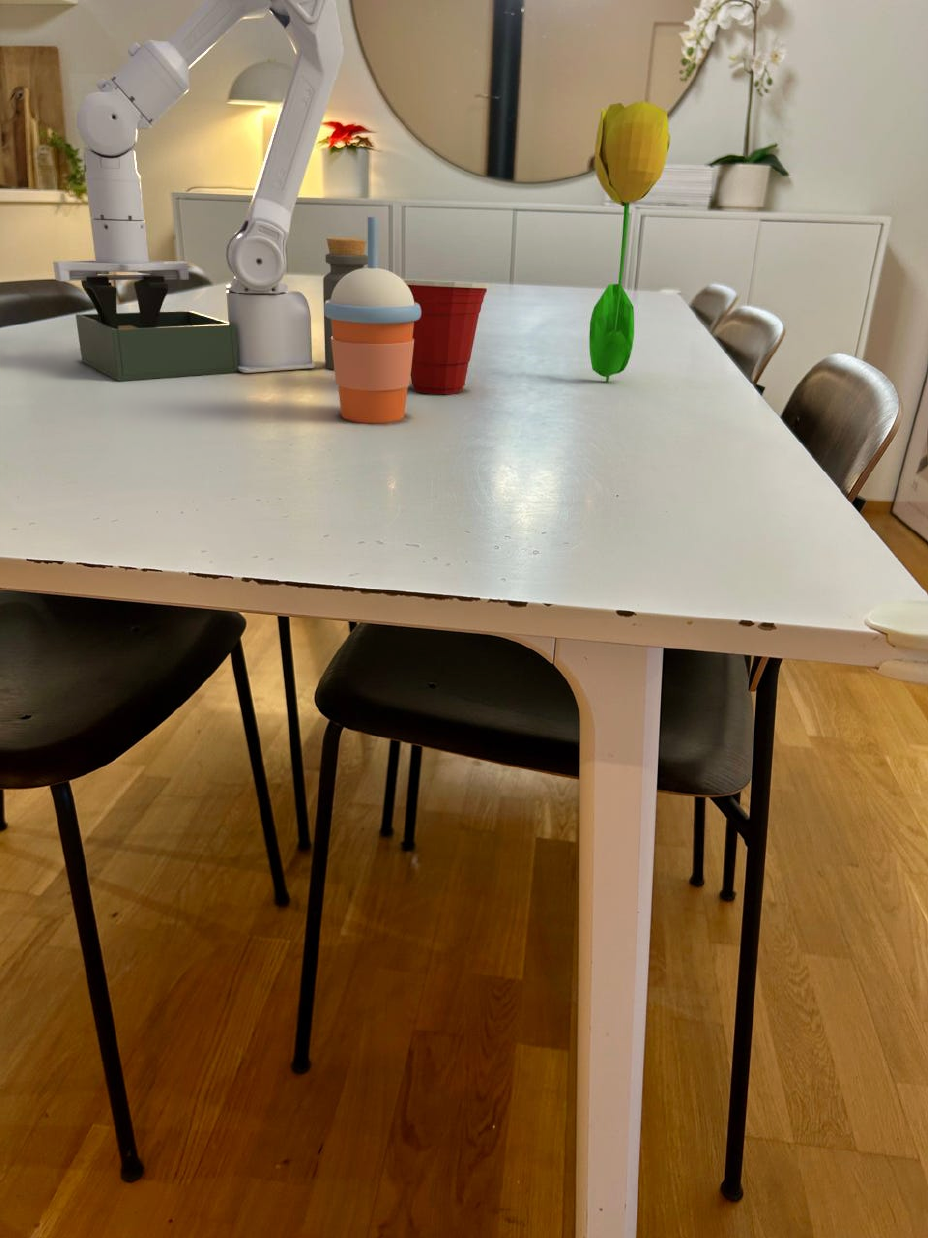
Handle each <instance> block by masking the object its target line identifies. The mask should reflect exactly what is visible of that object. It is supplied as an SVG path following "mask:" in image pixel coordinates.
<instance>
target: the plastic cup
mask: <svg viewBox="0 0 928 1238" xmlns="http://www.w3.org/2000/svg"><path fill="white" fill-rule="evenodd" d="M402 280H403V281H404V282H405V283H406V285H407V286H408V287H409V289H410V291H411V293H412V296H413V299H414V302H416V303H418V304H419V305H420V308H421V317H420V319H419V320H417V321H414V327H413V337H412V338H413V339H414V347H413V356H412V366H411V376H410V383H411V385H412V389H413V391H414V392H416V393H417V392H418V393H423V394H429V395H430V394H431V395H453V394H459V393H462V392H463V390H464V386H465V383H466V380H467V373H468V368H469V363H470V361H471V357H472V352H473V348H474V347H473V346H474V342H475V337H476V332H477V327H478V321H479V316H480V313H481V310H482V305H483V303H484V300H485V296H486V293H487V291H488V290H487V289H490V287H491V284H490V283H481V282H461V281H445V280H444V281H441V280H440V281H439V280H421V279H420V280H419V279H402Z"/></svg>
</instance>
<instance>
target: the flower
mask: <svg viewBox="0 0 928 1238" xmlns="http://www.w3.org/2000/svg"><path fill="white" fill-rule="evenodd" d="M598 122H599V123H598V127H597V131H596V138H595V146H594V169H595V174H596V178H597V179H598V181H599V184H600V185H601V187H602V189H603V191H604V192H605V193H606V195H607V196H608V197H609V198H610V200H611V201H613V202H614V203H616V204H618V205H620V206H621V207H623V218H622V219H623V221H622V235H621V249H620V251H621V252H620V263H619V273H618V274H619V275H618V283H614V284H613V283H609V284H608V285H607V286H606V288H605V290H604V291H603V293H602V294H601V296H600V297H599V298H598V300H597V302H596V304H595V305H594V307H593V310H592V312H591V317H590V321H589V335H588V337H589V338H588V339H589V341H588V344H589V357H590V363H591V370H592V371H593V372H595V373H596V374H597V375H599V376H600V377H605V383H606V384H607V383H608V384H609V382H610V377H611V376H613V375H617V374H620V373H622V372H623V371H625V369H626V367H627V366H628V363H629V361H630V358H631V355H632V350H633V346H634V339H635V311H634V305H633V304H632V301H631V300H630V298H629V296H628V294H627V292H626V290H625V289H624V288H623V286H622V281H623V273H624V264H625V263H624V262H625V254H626V245H627V237H628V235H627V234H628V225H629V222H628V221H629V214H630V213H629V211H630V203H631V204H632V203H636V202H638V201H640V200H641V199H644V198H645V197H646V196H647V195H648V193H649V192H650V191H651V190H652V188H653V187H654V186H655V185H656V184H657V182H658V181H659V179H660V178H661V177H662V175H663V171H664V169H665V166H666V161H667V157H668V151H669V148H670V143H671V135H670V133H669V118H668V113H667V110H665V109H663V108H662V107H660V106H658V105H656V104H653V103H651V102H647V101H645V100H642V101H641V100H640V101H636V102H633V103H631V104H629V105H627V106H624V105H623V104H622V102H618V103H611V104H609V106H608V108H607V109H605V108H604V107H602V108H601V112H600V116H599V121H598Z"/></svg>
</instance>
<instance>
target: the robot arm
mask: <svg viewBox="0 0 928 1238" xmlns="http://www.w3.org/2000/svg"><path fill="white" fill-rule="evenodd" d="M268 12H270V14H272V16H273V17H274V18H275V19H276V20H277V21H278V22H279V24H280V25H281V26H282V27H283V28H284V29H283V30H284V32H285V34H286V36H287V38H288V41H289V43H290V45H291V47H292V49H293V51H294V53H295V61H294V63H293V68H292V71H291V73H290V76H289V80H288V83H287V86H286V89H285V93H284V96H283V98H282V99H283V100H282V102H281V106H280V109H279V113H278V115H277V118H276V122H275V125H274V127H273V132H272V135H271V137H270V141H269V144H268V147H267V150H266V153H265V157H264V159H263V163H262V167H261V170H260V173H259V177H258V180H257V182H256V185H255V189H254V192H253V196H252V198H251V201H250V203H249V205H248V208H247V211H246V213H245V216H244V219H243V221H242V224H241V226H240V228H239V229H238V230H237V231H236V232H235V233H234V234H233V235H232V236H231V237H230V239H229V240H228V242H227V245H226V249H225V258H226V264H227V265H228V269H230V271H231V272H232V274H233V275H234V277H233V279H232V281H231V282H230V283H228V284H227V285H225V289H226V305H227V319H228V321H227V322H229V323H232V324H235V325H236V340H237V355H238V371H239V372H241V373H243V374H252V373H264V372H267V373H268V372H278V371H279V372H280V371H293V370H305V369H307V370H308V369H315V368H316V364H315V363H313V344H312V343H313V341H312V338H313V337H312V314H311V310H310V305H309V302H308V299H307V297H306V296H305V295H304V294H303V293H302V292H300V291H297V290H289V286H288V285H287V284H285V283H283V282H282V280H283V278H284V277H285V274H286V271H287V267H288V261H287V255H286V254H287V253H286V244H287V240H288V237H289V235H290V229H291V221H292V215H293V212H294V209H295V206H296V203H297V200H298V198H299V197H298V196H299V193H300V190H301V187H302V185H303V181H304V178H305V176H306V172H307V168H308V167H309V163H310V159H311V157H312V153H313V151H314V148H315V144H316V141H317V138H318V134H319V132H320V129H321V126H322V123H323V120H324V117H325V114H326V110H327V108H328V104H329V101H330V98H331V95H332V92H333V89H334V86H335V83H336V80H337V77H338V74H339V72H340V68H341V65H342V62H343V59H344V50H345V49H344V43H343V36H342V31H341V25H340V19H339V14H338V9H337V3H336V0H203V2H202V3H201V4H200V5H198V7H197V8H196V9H195V10H194V11H193V13H192V14H191V15H190V16H189V17H188V18H187V19H186V20H185V21H184V22H183V23H182V25H181V26H180V27H178V29H177V30H176V31H175V33H173V35H171V37H170V38H169V39H168V40H167V41H161V40H155V39H147V40H146V41H144V43H143V44H142V45H141V46H140V44H138V43H139V42H134V43H132V45H131V46H129V48H128V49H127V52H128V54H129V56H130V57H129V58H128V59H127V60H126V61H125V62H124V63H123V64H122V65H121V66H120V68H118V70H116V71H115V72H114V74H112V75H111V76H110V78H108V80H107V81H106V80H105V79H104V78H101V79H100V80H99V81H98V82H97V83H96V87H97V88H98V89H99V90H100V91H95V92H91V93H89V94H87V95H85V97H84V98H83V102H82V103H81V104H80V105H79V108H78V111H77V114H76V128H77V131H78V133H79V135H80V138H81V139H82V142H84V144H85V145H86V146H87V147H85V146H84V147H83V163H84V165H85V173H84V179H85V188H86V195H87V203H88V211H89V212H88V214H89V218H90V219H89V220H90V228H91V235H92V245H93V251H94V259H95V260H69V261H68V260H66V261H52V265H53V271H54V272H53V273H54V278H55V280H56V281H58V282H70V281H73V282H74V281H81V287H82V288H83V291H84V292H85V294H86V295H87V297H88V298H89V300H90V302H91V303H92V305H93V307H94V309H95V311H96V314H98V315H99V317H100V319H101V321H102V324H105V325H107V326H110V327H112V328H114V329H119V328H118V322H117V313H118V310H117V309H118V308H117V291H118V290H117V288H116V287H115V286H114V285H113V284H112V282H110V281H134V283H133V286H134V290H135V294H136V299H137V304H138V309H139V311H138V312H140V320H141V328H149V327H156V326H157V321H158V317H159V313H160V312H161V310H162V306H163V303H164V302H165V299H166V297H167V294H168V292H169V283H168V282H167V281H165V280H180V281H188V280H190V274H189V264H188V262H187V261H181V260H179V261H178V260H176V261H175V260H174V261H173V260H172V261H171V260H150V259H149V251H148V241H147V240H148V239H147V230H146V221H145V212H144V211H145V210H144V201H143V191H142V181H141V175H140V174H139V173H138V167H137V158H136V151H135V150H134V149H135V147H136V146H137V145H136V144H137V142H138V137H139V131H141V130H151V128H152V127H154V126H155V124H156V123H157V122H158V121H159V120H160V119H161V118H162V117H163V116H164V115H165V114H166V113H168V111H169V110H170V109H171V108H172V107H173V106H174V105H175V104H176V103H177V102H179V100H180V99H181V98H182V97H183V96H185V94H186V93H187V92H188V91H190V69H191V67H192V66H194V65H195V64H196V63H197V62H198V61H199V60H200V59H201V58H202V57H203V56H205V55H206V53H207V52H208V51H210V50H211V49H212V47H214V46H215V45H216V44H217V43H218V42H219V41H220V40H221V39H222V38H224V36H225V35H226V34H227V33H228V32H229V31H231V30H232V29H233V28H234V27H235V26H236V25H237V24H238V23H239V22H241V21H242V20H249V19H262V18H265V17H266V16H267V13H268ZM110 272H115V273H116V272H118V273H119V272H124V273H133V272H134V273H136V272H137V273H138V274H110Z"/></svg>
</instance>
